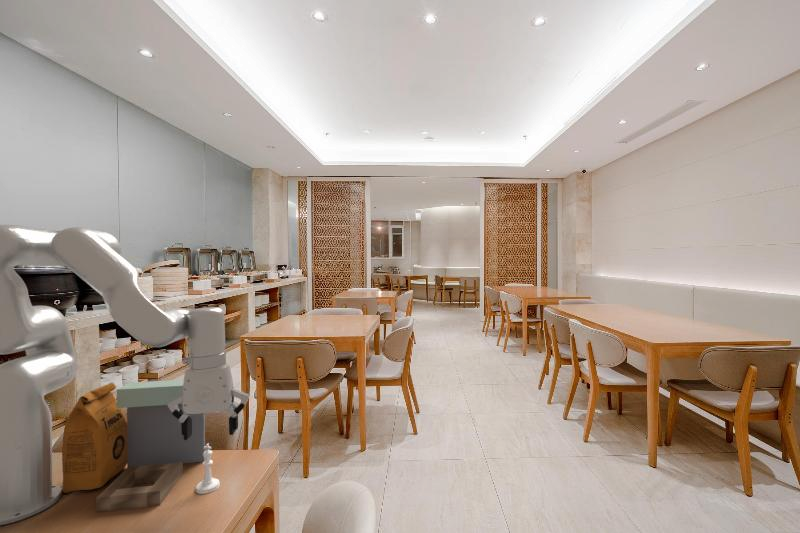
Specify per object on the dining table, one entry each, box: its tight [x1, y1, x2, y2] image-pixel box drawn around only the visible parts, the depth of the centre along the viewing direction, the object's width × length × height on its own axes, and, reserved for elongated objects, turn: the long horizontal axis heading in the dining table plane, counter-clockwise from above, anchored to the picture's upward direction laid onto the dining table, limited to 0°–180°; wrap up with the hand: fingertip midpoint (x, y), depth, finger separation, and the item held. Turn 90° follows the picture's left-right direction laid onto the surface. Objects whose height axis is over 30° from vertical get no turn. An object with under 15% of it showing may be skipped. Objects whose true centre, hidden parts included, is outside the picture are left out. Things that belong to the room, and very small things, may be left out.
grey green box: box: [116, 379, 206, 469], centre depth 93 cm, size 18×6×22 cm, turn 100°
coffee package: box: [61, 381, 127, 494], centre depth 88 cm, size 10×12×22 cm
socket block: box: [95, 462, 184, 513], centre depth 83 cm, size 12×12×3 cm
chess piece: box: [195, 443, 221, 495], centre depth 85 cm, size 5×5×10 cm
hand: (210, 435), depth 85 cm, fingers open, 9 cm apart
